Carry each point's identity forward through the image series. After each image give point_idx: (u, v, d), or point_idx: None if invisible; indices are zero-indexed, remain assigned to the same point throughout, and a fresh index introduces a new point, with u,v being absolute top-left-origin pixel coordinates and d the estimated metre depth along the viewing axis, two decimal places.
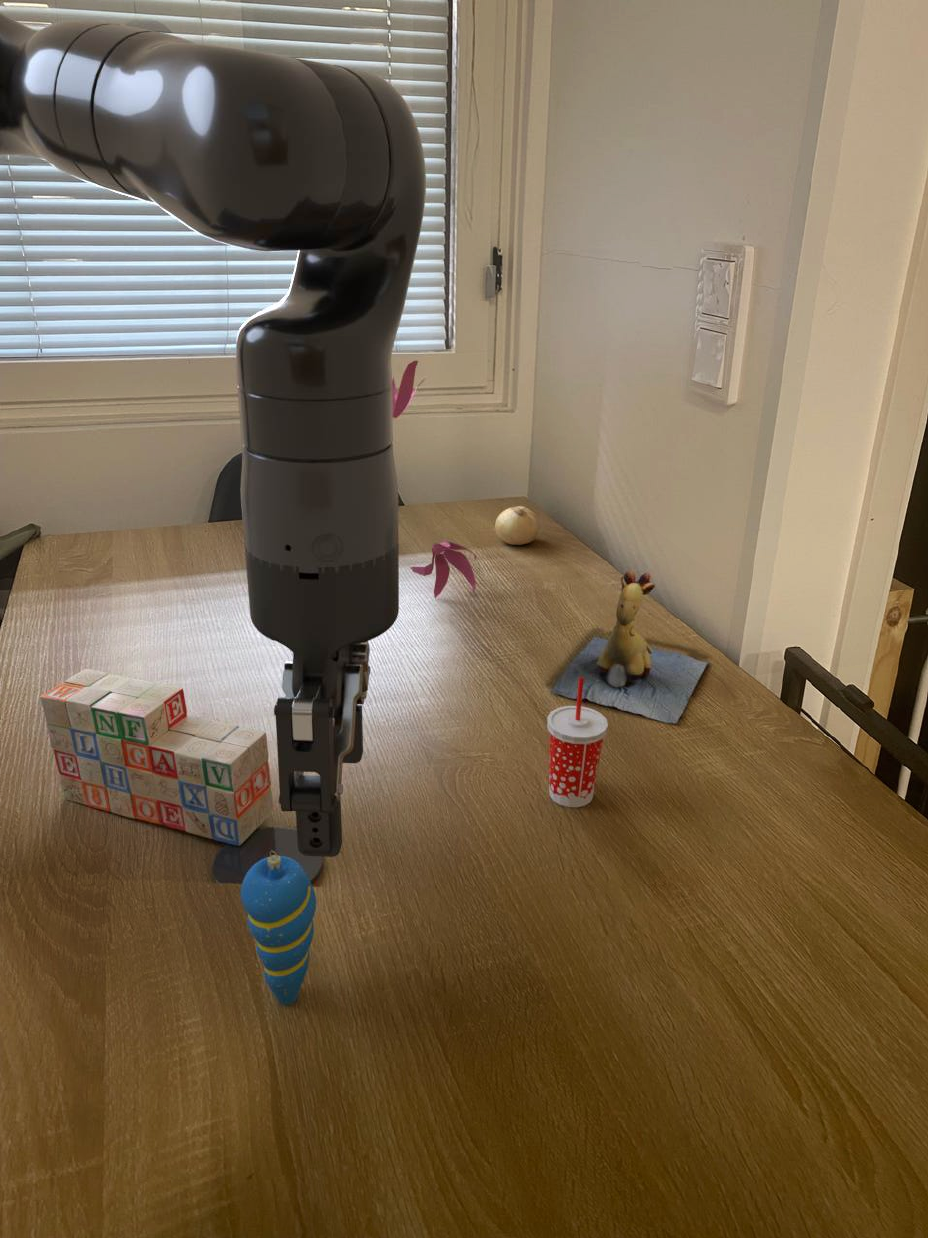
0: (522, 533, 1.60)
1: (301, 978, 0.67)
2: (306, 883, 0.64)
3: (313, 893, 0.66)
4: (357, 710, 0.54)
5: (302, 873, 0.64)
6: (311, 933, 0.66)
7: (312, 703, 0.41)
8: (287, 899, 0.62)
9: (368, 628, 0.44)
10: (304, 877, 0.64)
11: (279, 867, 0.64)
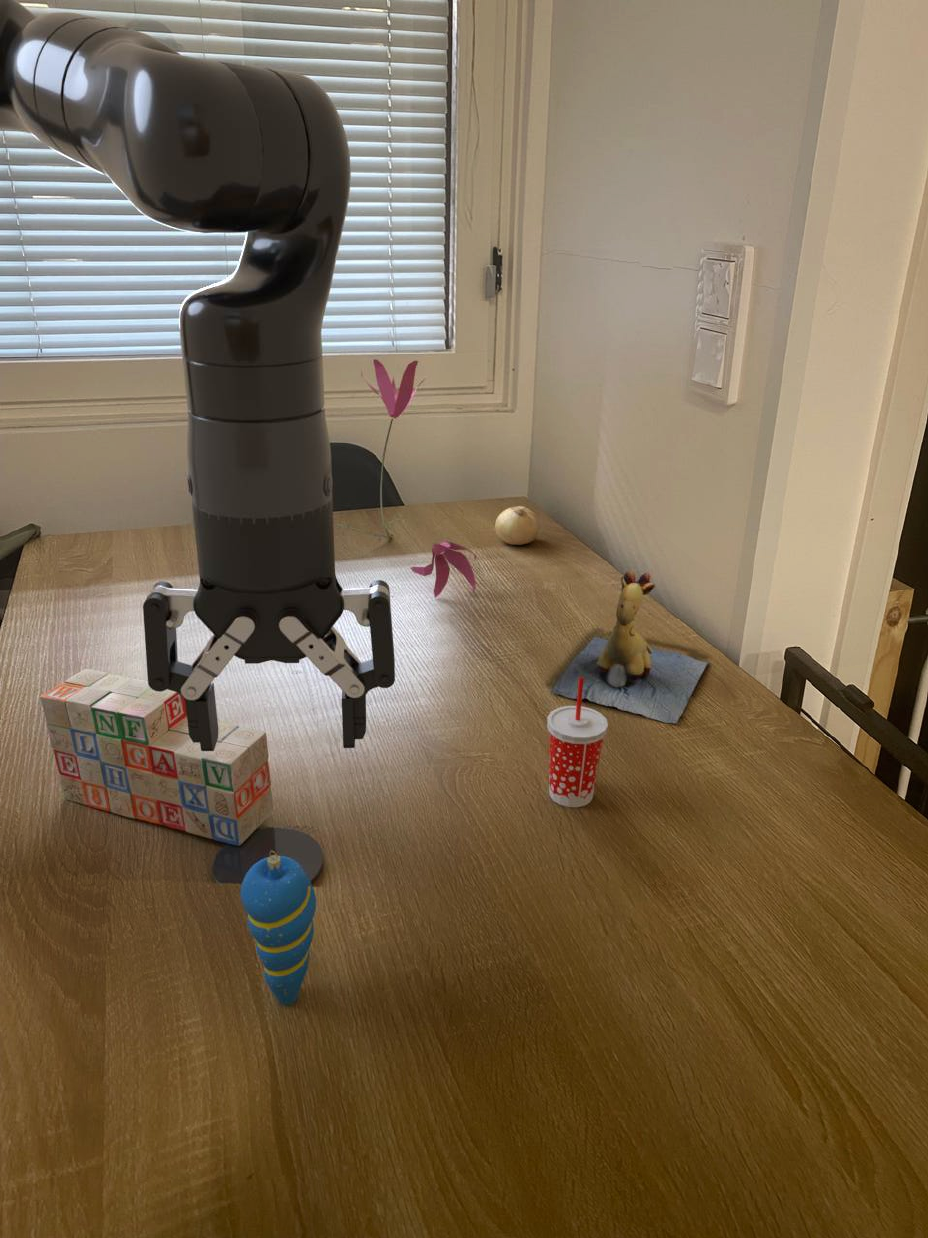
0: (522, 533, 1.60)
1: (301, 978, 0.67)
2: (306, 883, 0.64)
3: (313, 893, 0.66)
4: (343, 697, 0.54)
5: (302, 873, 0.64)
6: (311, 933, 0.66)
7: (151, 593, 0.51)
8: (286, 899, 0.62)
9: (209, 573, 0.48)
10: (304, 877, 0.64)
11: (279, 867, 0.64)
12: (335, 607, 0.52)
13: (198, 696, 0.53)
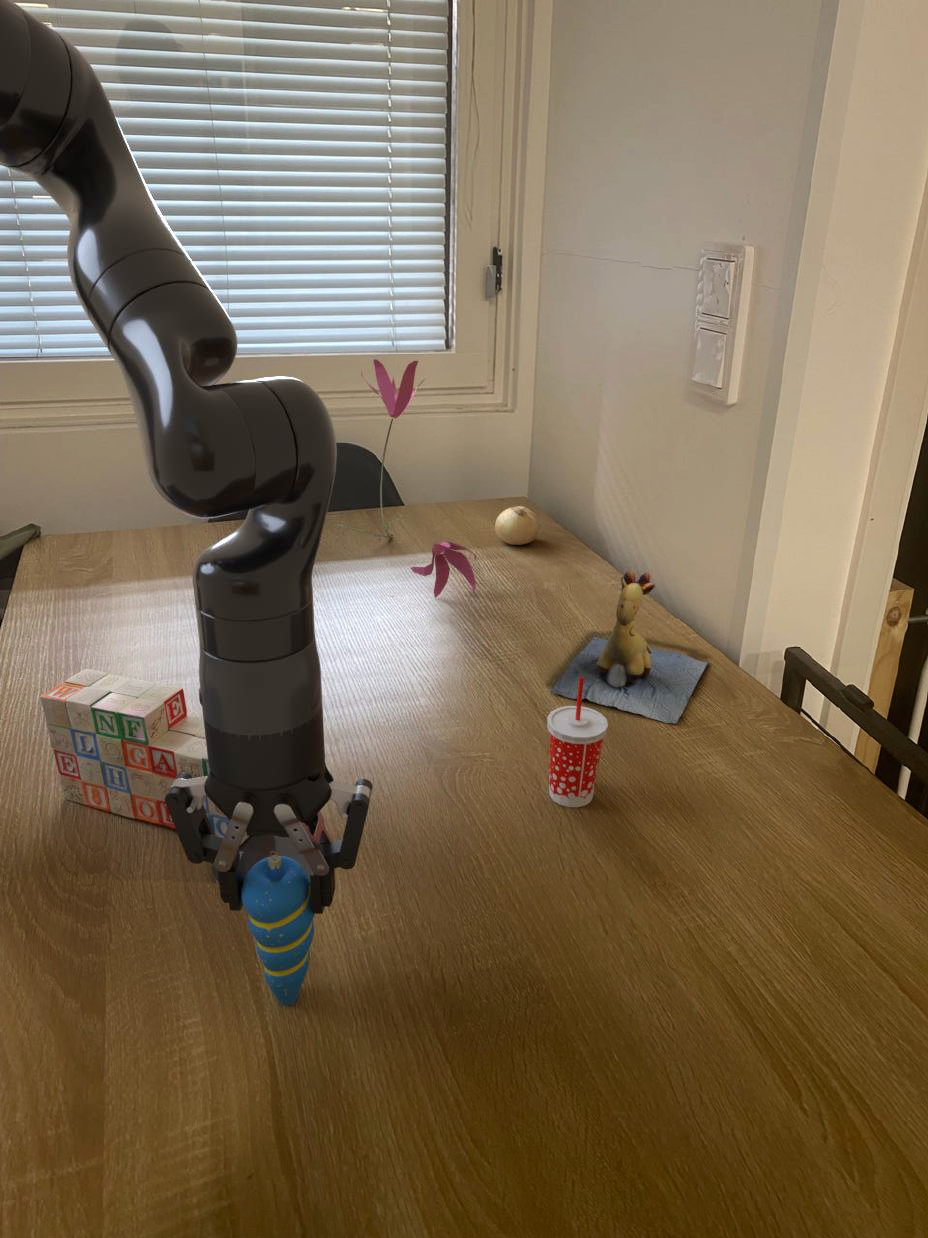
0: (522, 533, 1.60)
1: (301, 978, 0.67)
2: (306, 883, 0.64)
3: None
4: (311, 873, 0.63)
5: (302, 873, 0.64)
6: (312, 933, 0.66)
7: (170, 787, 0.61)
8: (287, 899, 0.62)
9: (214, 770, 0.57)
10: (304, 877, 0.64)
11: (279, 867, 0.64)
12: (323, 795, 0.60)
13: (228, 869, 0.63)
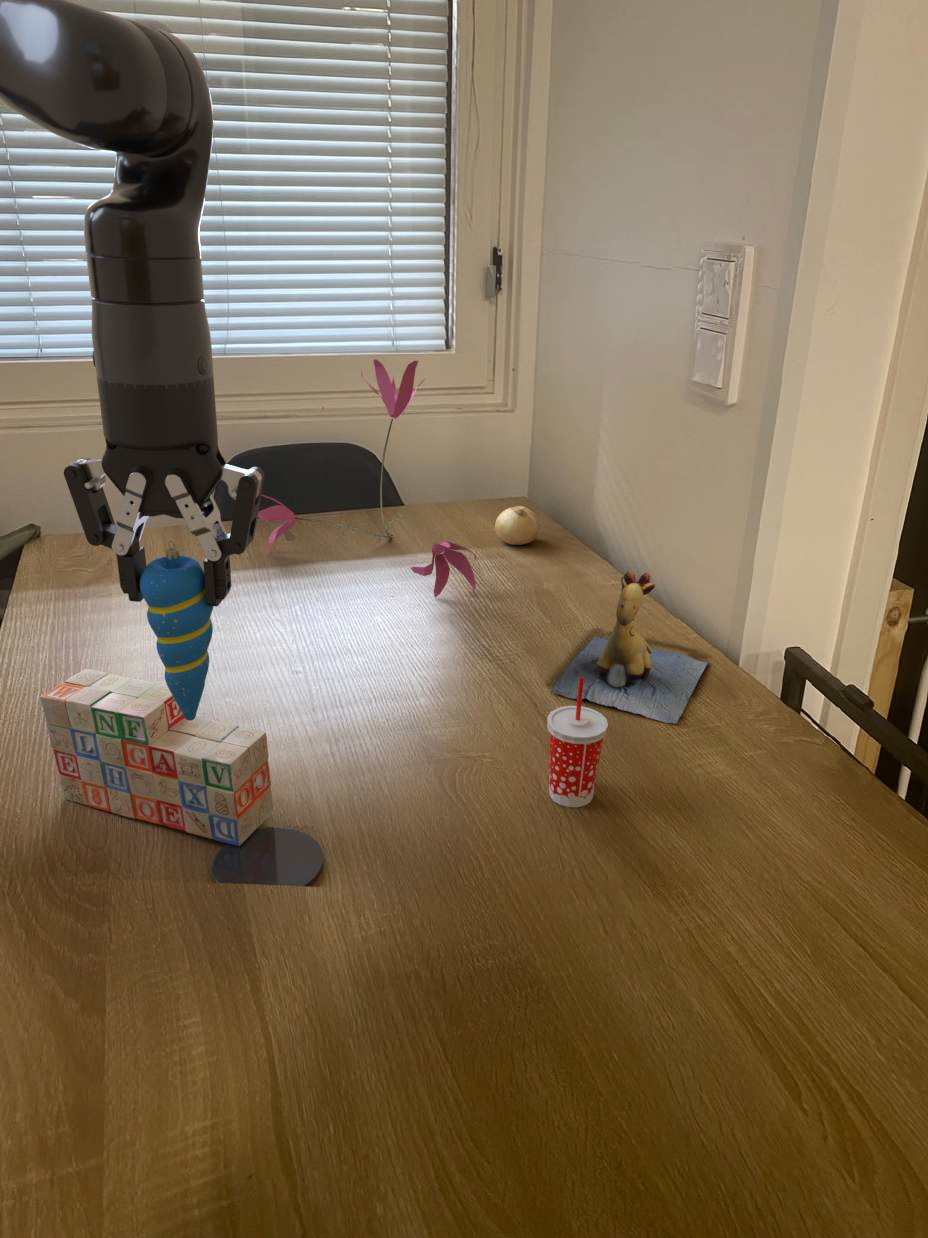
0: (522, 533, 1.60)
1: (199, 679, 0.70)
2: (202, 575, 0.67)
3: None
4: (205, 560, 0.66)
5: (199, 566, 0.67)
6: (209, 631, 0.69)
7: (70, 464, 0.64)
8: (181, 582, 0.65)
9: (106, 431, 0.61)
10: (201, 569, 0.67)
11: (177, 558, 0.67)
12: (213, 471, 0.63)
13: (125, 552, 0.66)
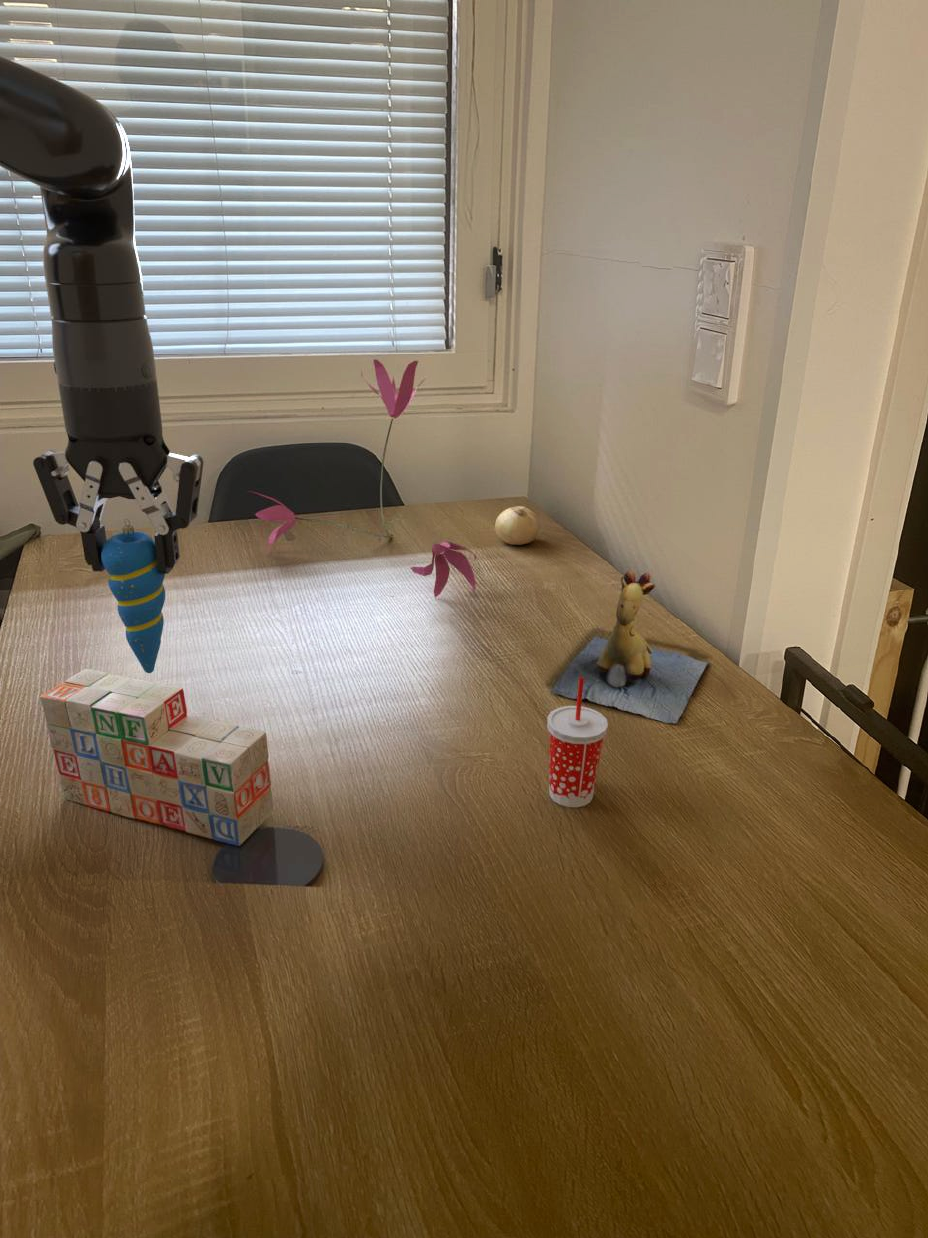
0: (522, 533, 1.60)
1: (155, 636, 0.82)
2: (154, 547, 0.79)
3: None
4: (155, 534, 0.78)
5: (151, 540, 0.80)
6: (162, 595, 0.81)
7: (39, 456, 0.76)
8: (135, 553, 0.78)
9: (67, 428, 0.73)
10: (153, 542, 0.80)
11: (132, 533, 0.79)
12: (158, 459, 0.75)
13: (88, 529, 0.78)
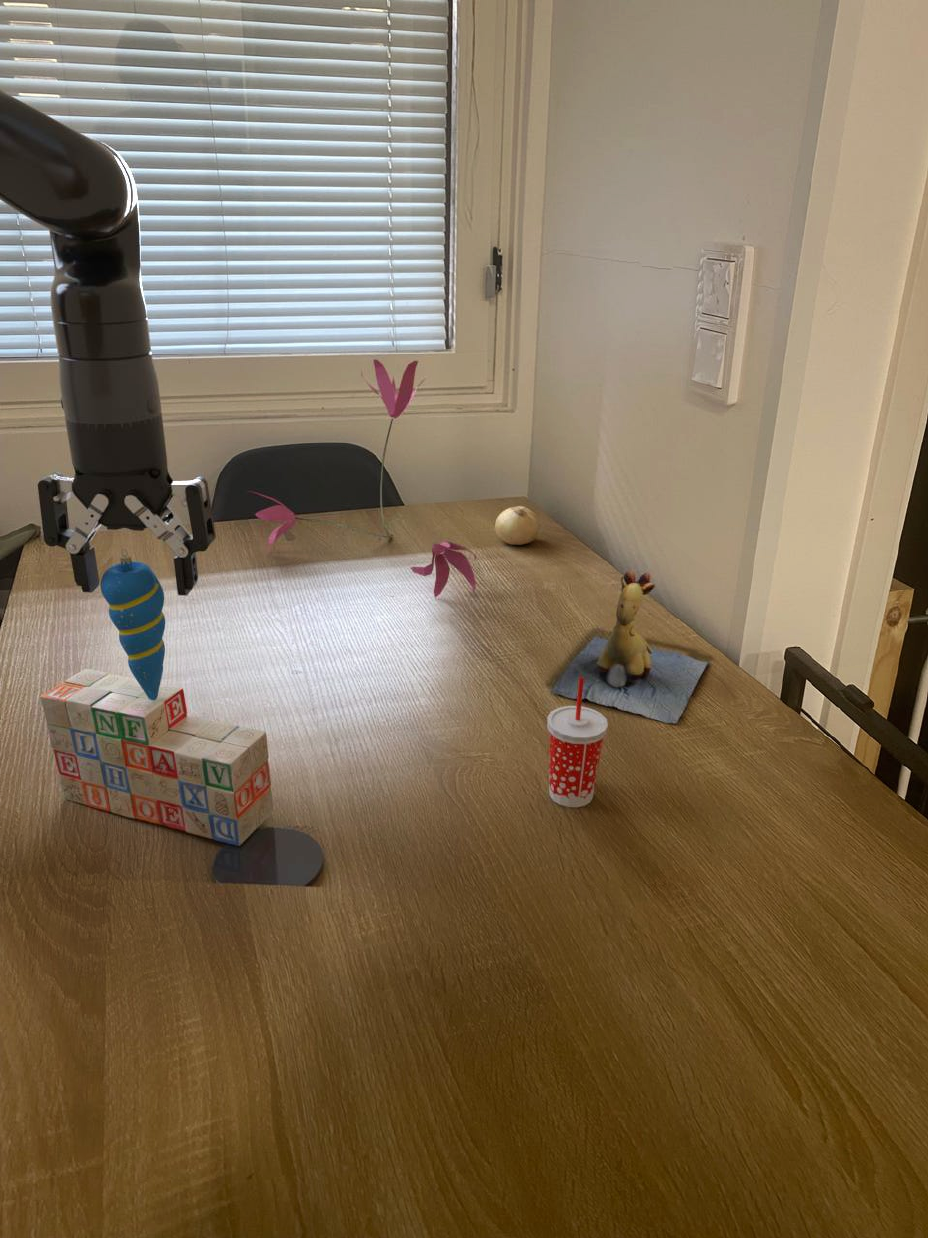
0: (522, 533, 1.60)
1: (157, 663, 0.84)
2: (152, 575, 0.81)
3: (161, 589, 0.82)
4: (175, 557, 0.79)
5: (149, 569, 0.81)
6: (162, 623, 0.83)
7: (45, 477, 0.77)
8: (133, 582, 0.79)
9: (74, 462, 0.74)
10: (150, 571, 0.81)
11: (129, 563, 0.81)
12: (163, 491, 0.76)
13: (77, 551, 0.79)
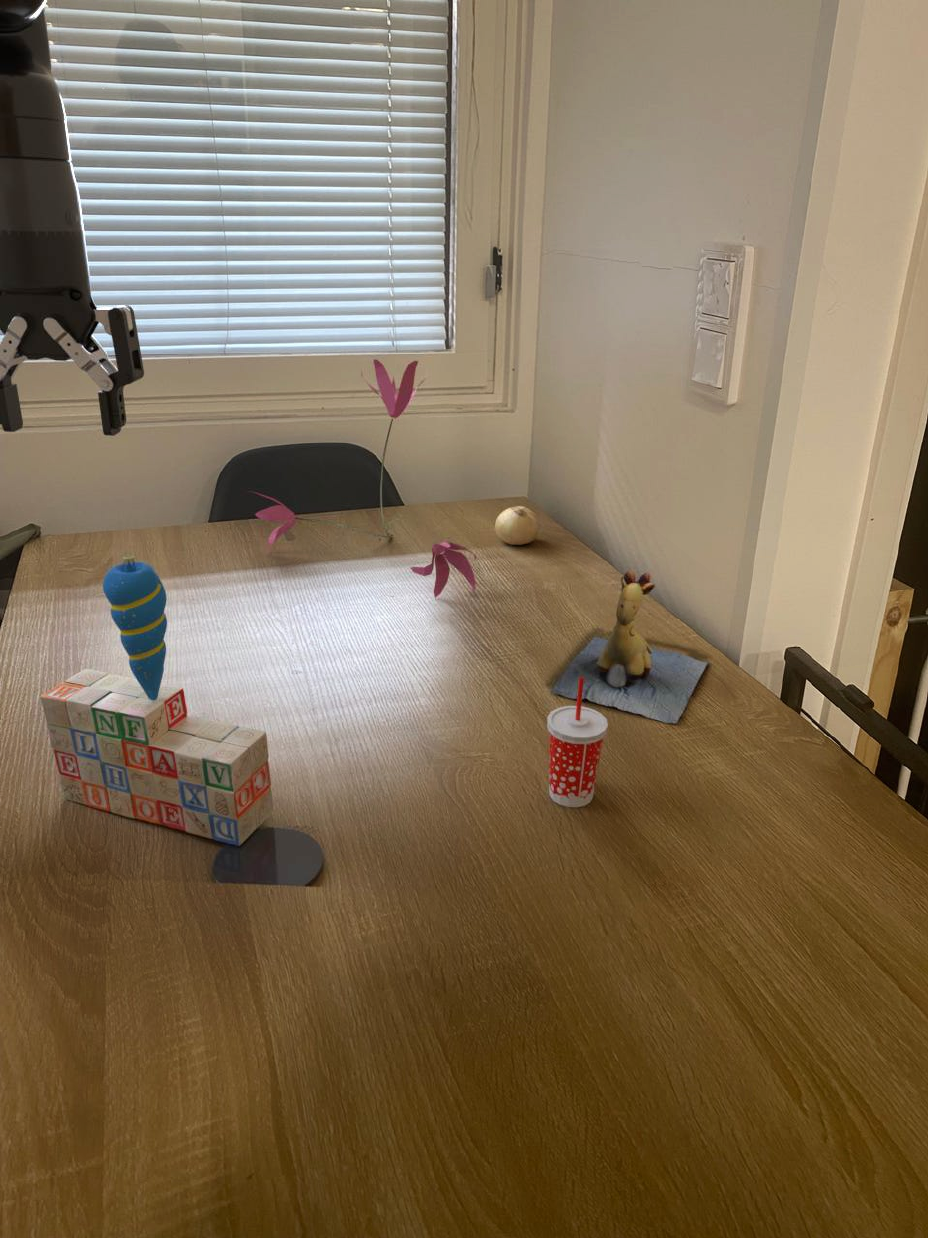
0: (522, 533, 1.60)
1: (158, 664, 0.84)
2: (154, 576, 0.81)
3: (163, 590, 0.82)
4: (99, 391, 0.75)
5: (152, 569, 0.81)
6: (163, 624, 0.83)
7: None
8: (136, 583, 0.79)
9: None
10: (153, 572, 0.81)
11: (132, 563, 0.81)
12: (85, 316, 0.72)
13: None
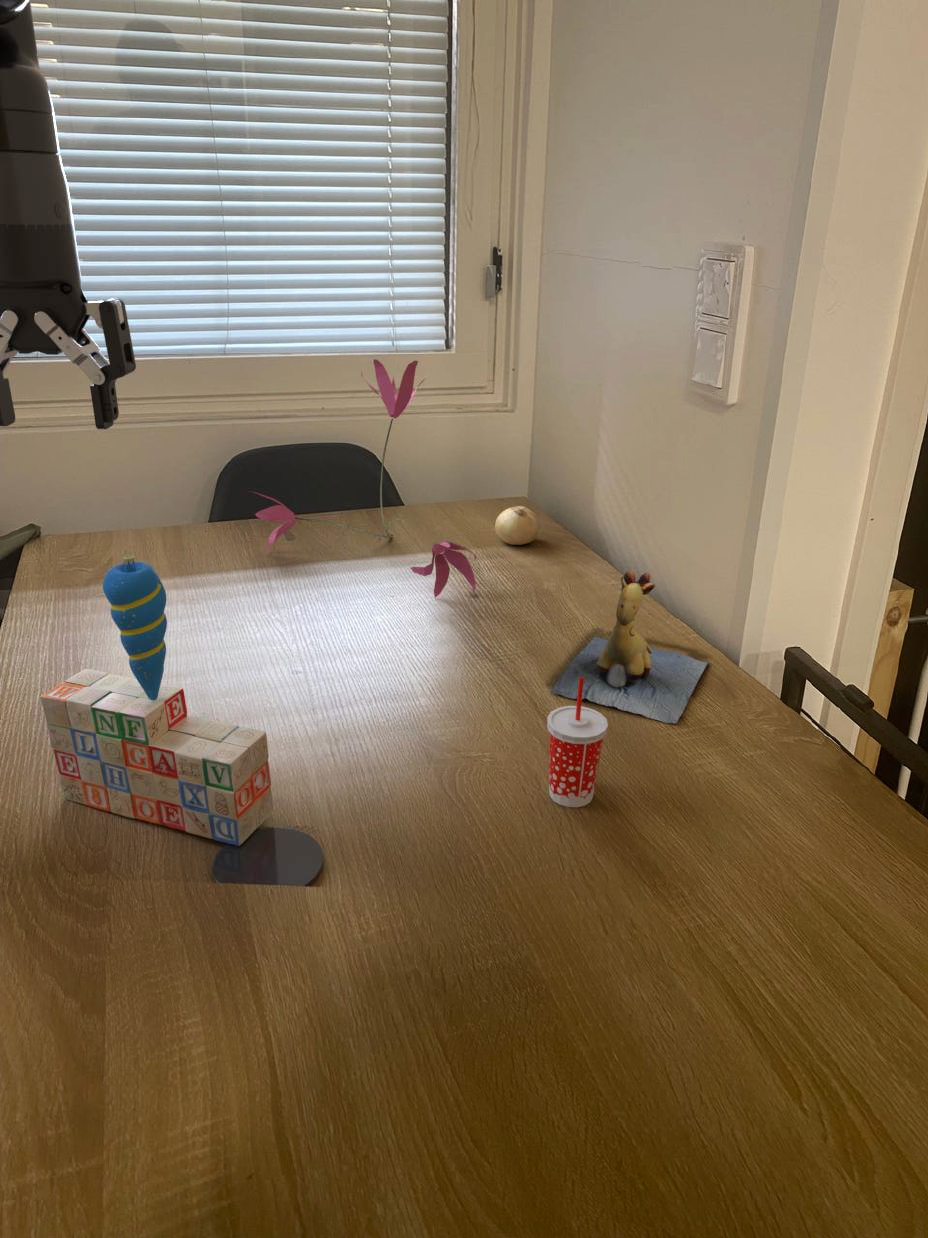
0: (522, 533, 1.60)
1: (158, 664, 0.84)
2: (154, 576, 0.81)
3: (163, 590, 0.82)
4: (91, 385, 0.75)
5: (151, 569, 0.81)
6: (163, 624, 0.83)
7: None
8: (136, 583, 0.79)
9: None
10: (153, 572, 0.81)
11: (132, 563, 0.81)
12: (76, 309, 0.72)
13: None
